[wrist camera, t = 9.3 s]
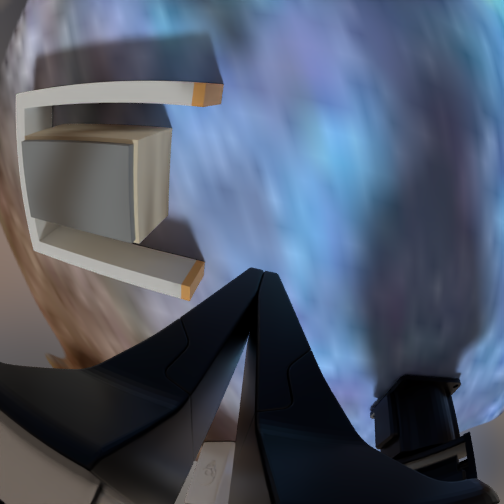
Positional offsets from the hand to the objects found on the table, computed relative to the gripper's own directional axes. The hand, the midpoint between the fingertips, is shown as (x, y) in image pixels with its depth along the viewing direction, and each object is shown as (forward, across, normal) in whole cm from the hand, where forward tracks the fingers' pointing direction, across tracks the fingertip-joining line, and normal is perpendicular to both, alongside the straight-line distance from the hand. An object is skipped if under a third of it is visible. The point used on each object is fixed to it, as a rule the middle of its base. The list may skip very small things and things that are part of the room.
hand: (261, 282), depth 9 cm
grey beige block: (+7, +10, 0) cm, 12 cm away
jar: (+7, -1, +34) cm, 35 cm away
